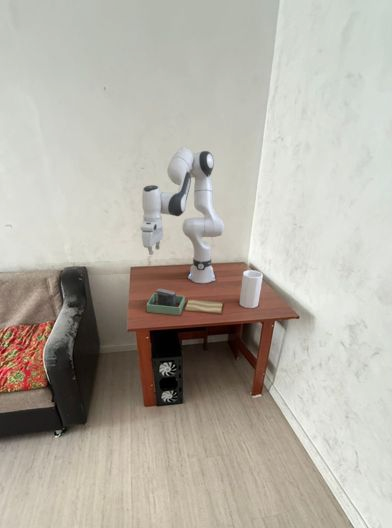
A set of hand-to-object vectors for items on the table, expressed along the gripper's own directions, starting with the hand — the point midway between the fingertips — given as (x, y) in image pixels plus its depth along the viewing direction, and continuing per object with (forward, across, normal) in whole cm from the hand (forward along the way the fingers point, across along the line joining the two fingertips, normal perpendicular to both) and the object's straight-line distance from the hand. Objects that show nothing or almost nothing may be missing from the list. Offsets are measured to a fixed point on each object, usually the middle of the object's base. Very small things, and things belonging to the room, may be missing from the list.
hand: (154, 251), depth 152 cm
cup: (+30, -13, +51) cm, 61 cm away
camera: (+30, +4, +7) cm, 31 cm away
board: (+30, -2, +27) cm, 40 cm away
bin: (+30, +4, +7) cm, 30 cm away
